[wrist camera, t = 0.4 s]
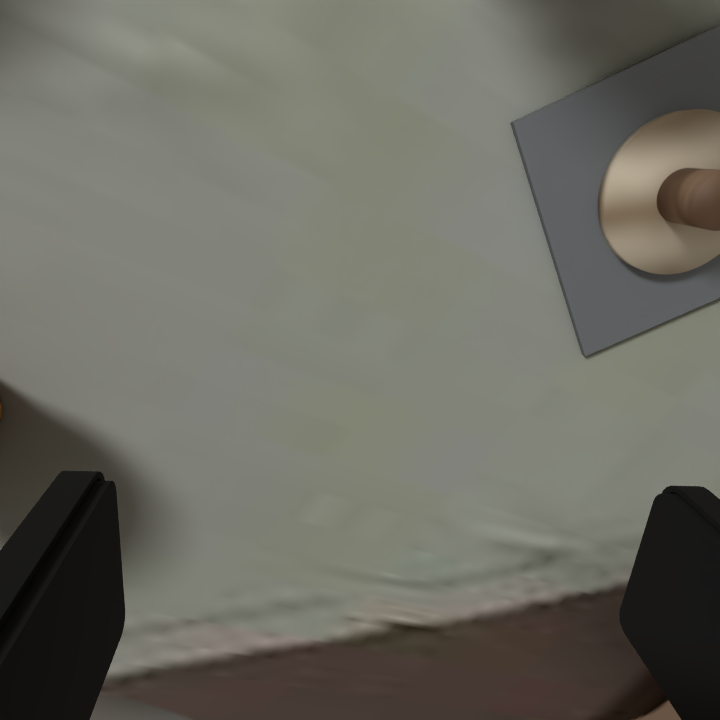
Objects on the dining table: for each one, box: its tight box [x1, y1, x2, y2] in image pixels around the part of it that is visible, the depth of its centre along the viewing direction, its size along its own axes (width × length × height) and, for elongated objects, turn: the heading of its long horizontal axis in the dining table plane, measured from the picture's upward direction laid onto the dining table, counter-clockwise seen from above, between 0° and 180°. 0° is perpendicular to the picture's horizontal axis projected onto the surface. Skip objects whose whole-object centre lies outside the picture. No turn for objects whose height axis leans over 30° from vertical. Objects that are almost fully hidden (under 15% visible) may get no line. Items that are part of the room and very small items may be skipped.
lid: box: [597, 109, 720, 275], centre depth 41 cm, size 12×12×6 cm
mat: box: [511, 25, 720, 356], centre depth 44 cm, size 20×20×1 cm
